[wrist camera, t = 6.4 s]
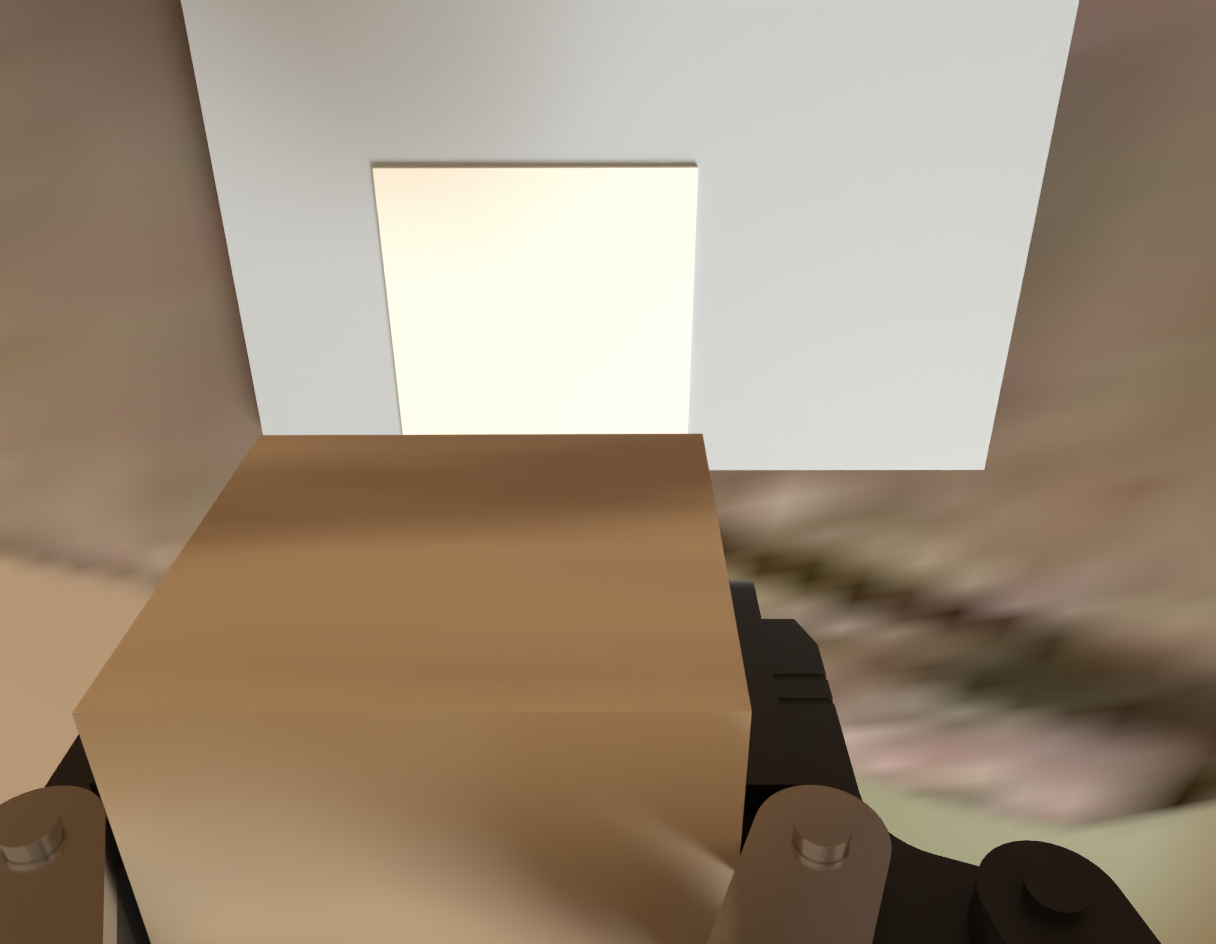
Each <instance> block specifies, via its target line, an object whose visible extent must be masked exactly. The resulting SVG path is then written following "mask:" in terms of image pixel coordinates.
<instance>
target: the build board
mask: <svg viewBox="0 0 1216 944" xmlns="http://www.w3.org/2000/svg"><path fill="white" fill-rule="evenodd" d="M1078 3H1079V0H181V4H182V9H183V14H184V20H185V25H186V30H187V35H188V41H189V46H190V51H191V57H192V62H193V67H194V72H195V78H196V83H197V88H198V94H199V99H200V104H201V109H202V115H203V120H204V125H205V131H206V136H207V141H208V146H209V152H210V157H211V162H212V168H213V173H214V178H215V183H216V189H217V194H218V199H219V205H220V210H221V215H222V220H223V226H224V231H225V236H226V242H227V247H228V252H229V257H230V263H231V268H232V273H233V279H234V284H235V289H236V294H237V300H238V305H239V310H240V315H241V321H242V326H243V331H244V337H245V342H246V347H247V352H248V358H249V363H250V368H251V374H252V379H253V384H254V389H255V395H256V400H257V405H258V411H259V416H260V421H261V426H262V432H263V435H454V434H703V439H704V444H705V450H706V456H707V461H708V467H709V470H984V468H985V463H986V458H987V453H988V448H989V443H990V438H991V433H992V428H993V423H994V418H995V413H996V408H997V403H998V399H999V394H1000V389H1001V384H1002V379H1003V374H1004V369H1005V364H1006V359H1007V354H1008V349H1009V344H1010V339H1011V334H1012V329H1013V324H1014V319H1015V315H1016V310H1017V305H1018V300H1019V295H1020V290H1021V285H1022V280H1023V275H1024V270H1025V265H1026V260H1027V255H1028V250H1029V245H1030V240H1031V235H1032V231H1033V226H1034V221H1035V216H1036V211H1037V206H1038V201H1039V196H1040V191H1041V186H1042V181H1043V176H1044V171H1045V166H1046V161H1047V156H1048V152H1049V147H1050V142H1051V137H1052V132H1053V127H1054V122H1055V117H1056V112H1057V107H1058V102H1059V97H1060V92H1061V87H1062V82H1063V77H1064V72H1065V68H1066V63H1067V58H1068V53H1069V48H1070V43H1071V38H1072V33H1073V28H1074V23H1075V18H1076V13H1077V8H1078Z"/></svg>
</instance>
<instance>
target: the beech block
mask: <svg viewBox="0 0 1216 944" xmlns="http://www.w3.org/2000/svg"><path fill="white" fill-rule="evenodd" d="M72 715H73V718H74V720H75V723H76V726H77V729H78V732H79V735H80V738H81V741H82V744H83V747H84V750H85V752H86V755H87V758H88V761H89V764H90V767H91V770H92V773H93V776H94V779H95V782H96V785H97V787H98V790H99V793H100V796H101V799H102V802H103V805H104V808H105V811H106V814H107V817H108V820H109V822H110V825H111V828H112V831H113V834H114V837H115V840H116V843H117V846H118V849H119V852H120V855H121V857H122V860H123V863H124V866H125V869H126V872H127V875H128V878H129V881H130V884H131V887H132V890H133V892H134V895H135V898H136V901H137V904H138V907H139V910H140V913H141V916H142V919H143V922H144V924H145V927H146V930H147V933H148V936H149V939H150V942H151V944H707V942H708V939H709V937H710V934H711V931H712V929H713V926H714V923H715V921H716V918H717V916H718V913H719V910H720V908H721V905H722V902H723V900H724V897H725V895H726V892H727V889H728V887H729V884H730V881H731V879H732V876H733V874H734V871H735V868H736V866H737V863H738V860H739V858H740V848H741V836H742V824H743V812H744V800H745V788H746V776H747V763H748V751H749V739H750V727H751V715H752V710H751V705H750V699H749V693H748V688H747V682H746V676H745V671H744V665H743V659H742V654H741V648H740V642H739V637H738V631H737V625H736V620H735V614H734V608H733V603H732V597H731V591H730V586H729V580H728V574H727V569H726V563H725V557H724V552H723V546H722V540H721V535H720V529H719V523H718V518H717V512H716V506H715V501H714V495H713V490H712V484H711V478H710V473H709V467H708V461H707V456H706V450H705V444H704V439H703V434H454V435H260V436H259V437H258V439H257V440H256V442H255V443H254V445H253V446H252V448H251V449H250V451H249V452H248V454H247V455H246V456H245V458H244V459H243V461H242V462H241V464H240V465H239V467H238V468H237V470H236V471H235V473H234V474H233V476H232V477H231V479H230V480H229V482H228V483H227V485H226V486H225V488H224V489H223V491H222V492H221V494H220V495H219V496H218V498H217V499H216V501H215V502H214V504H213V505H212V507H211V508H210V510H209V511H208V513H207V514H206V516H205V517H204V519H203V520H202V522H201V523H200V525H199V526H198V528H197V529H196V531H195V532H194V534H193V535H192V536H191V538H190V539H189V541H188V542H187V544H186V545H185V547H184V548H183V550H182V551H181V553H180V554H179V556H178V557H177V559H176V560H175V562H174V563H173V565H172V566H171V568H170V569H169V571H168V572H167V574H166V575H165V576H164V578H163V579H162V581H161V582H160V584H159V585H158V587H157V588H156V590H155V591H154V593H153V594H152V596H151V597H150V599H149V600H148V602H147V603H146V605H145V606H144V608H143V609H142V611H141V612H140V614H139V615H138V617H137V618H136V619H135V621H134V622H133V624H132V625H131V627H130V628H129V630H128V632H127V633H126V634H125V636H124V637H123V639H122V640H121V642H120V643H119V645H118V646H117V648H116V649H115V651H114V652H113V654H112V655H111V657H110V658H109V660H108V661H107V662H106V664H105V665H104V667H103V668H102V670H101V671H100V673H99V674H98V676H97V677H96V679H95V680H94V682H93V683H92V685H91V686H90V688H89V689H88V691H87V692H86V694H85V695H84V697H83V698H82V700H81V701H80V702H79V704H78V705H77V707H76V708H75V710H74V711H73V713H72Z"/></svg>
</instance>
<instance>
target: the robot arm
mask: <svg viewBox="0 0 1216 944" xmlns="http://www.w3.org/2000/svg"><path fill="white" fill-rule="evenodd" d="M729 586H730V591H731V597H732V603H733V608H734V614H735V620H736V625H737V631H738V637H739V642H740V648H741V654H742V659H743V665H744V671H745V676H746V682H747V688H748V693H749V699H750V705H751V710H752V715H751V727H750V739H749V751H748V763H747V776H746V788H745V800H744V812H743V824H742V836H741V848H740V858H739V860H738V863H737V866H736V868H735V871H734V874H733V876H732V879H731V881H730V884H729V887H728V889H727V892H726V895H725V897H724V900H723V902H722V905H721V908H720V910H719V913H718V916H717V918H716V921H715V923H714V926H713V929H712V931H711V934H710V937H709V939H708V942H707V944H1161V943H1160V942H1159V940H1158V939H1157V938H1156V936H1155V935H1154V934H1153V932H1152V931H1151V930H1150V928H1149V927H1148V926H1147V925H1146V923H1145V922H1144V920H1143V919H1142V918H1141V917H1140V915H1139V914H1138V913H1137V911H1136V910H1135V909H1134V907H1133V906H1132V905H1131V903H1130V902H1129V900H1128V899H1127V898H1126V897H1125V895H1124V894H1123V893H1122V891H1121V890H1120V889H1119V887H1118V886H1117V885H1116V884H1115V883H1114V881H1113V880H1112V879H1111V878H1110V877H1109V876H1108V875H1107V874H1106V873H1105V872H1104V871H1103V870H1101V869H1100V868H1099V867H1098V866H1096V865H1095V864H1093V863H1092V862H1091V861H1089V860H1088V859H1086V858H1084V857H1083V856H1081V855H1079V854H1077V853H1075V852H1073V851H1071V850H1068V849H1066V848H1064V847H1061V846H1057V845H1054V844H1051V843H1045V842H1040V841H1026V840H1025V841H1014V842H1010V843H1006V844H1003V845H1001V846H999V847H997V848H994V849H993V850H992V851H991V852H990V853H988V854H987V855H986V856H985V858H984V859H983V860H982V862H981V864H980V866H976V865H972V864H968V863H965V862H961V861H957V860H953V859H950V858H946V857H942V856H938V855H935V854H932V853H928V852H925V851H922V850H920V849H917V848H915V847H913V846H911V845H908V844H906V843H905V842H903V841H901V840H899V839H898V838H896V837H894V836H893V835H892V834H891V833H889V832H888V830H887V828H886V826H885V825H884V823H883V821H882V820H881V818H880V817H879V816H878V815H877V814H876V812H875V811H874V810H872V809H871V808H870V807H869V806H868V805H867V804H866V803H864V802H863V801H862V798H861V796H860V793H859V790H858V786H857V783H856V779H855V776H854V772H853V768H852V765H851V761H850V758H849V754H848V751H847V747H846V744H845V740H844V737H843V733H842V730H841V726H840V723H839V719H838V715H837V712H836V708H835V705H834V704H833V701H832V699H833V698H832V694H831V691H830V687H829V684H828V680H826V673H825V669H824V666H823V662H822V659H821V655H820V652H819V648H818V645H817V644H816V642H815V641H814V640H813V639H812V638H811V637H810V636H809V635H808V634H807V633H806V632H805V630H804V629H803V628H802V627H801V626H800V625H799V624H798V623H797V622H796V621H795V620H794V619H761V615H760V610H759V606H758V601H757V596H756V592H755V587H754V584H753V581H729ZM0 944H151V942H150V939H149V936H148V933H147V930H146V927H145V924H144V922H143V919H142V916H141V913H140V910H139V907H138V904H137V901H136V898H135V895H134V892H133V890H132V887H131V884H130V881H129V878H128V875H127V872H126V869H125V866H124V863H123V860H122V857H121V855H120V852H119V849H118V846H117V843H116V840H115V837H114V834H113V831H112V828H111V825H110V822H109V820H108V817H107V814H106V811H105V808H104V805H103V802H102V799H101V796H100V793H99V790H98V787H97V785H96V782H95V779H94V776H93V773H92V770H91V767H90V764H89V761H88V758H87V755H86V752H85V750H84V747H83V744H82V741H81V738H80V735H78V736H77V738H76V740H75V741H74V743H73V744H72V746H71V747H70V749H69V750H68V752H67V754H66V755H65V757H64V758H63V760H62V761H61V763H60V764H59V766H58V767H57V769H56V771H55V772H54V773H53V775H52V776H51V778H50V780H49V781H48V783H47V784H46V786H45V787H44V788H40V789H36V790H33V791H30V792H27V793H23V794H21V795H19V796H17V797H14V798H12V799H10V800H8V801H6V802H4V803H3V804H1V805H0Z"/></svg>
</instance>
